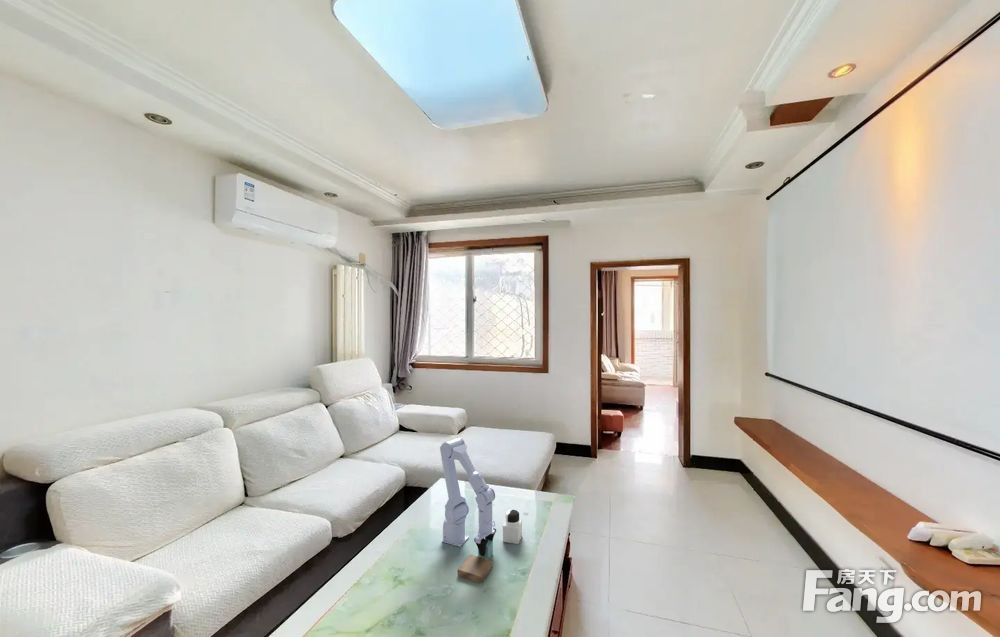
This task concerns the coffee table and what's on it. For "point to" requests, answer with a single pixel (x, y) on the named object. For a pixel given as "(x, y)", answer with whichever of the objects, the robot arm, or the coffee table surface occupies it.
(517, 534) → the medicine bottle
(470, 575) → the walnut slab
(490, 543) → the teal block
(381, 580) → the coffee table surface
